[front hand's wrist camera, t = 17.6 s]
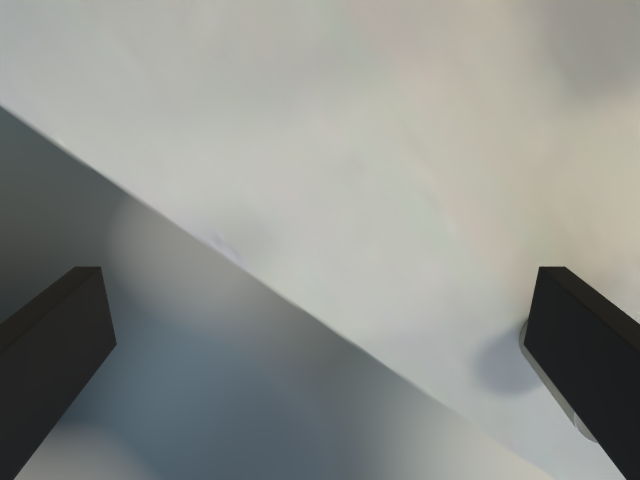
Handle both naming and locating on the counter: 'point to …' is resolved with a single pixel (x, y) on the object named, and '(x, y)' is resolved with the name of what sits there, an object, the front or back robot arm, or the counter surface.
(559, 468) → the counter surface
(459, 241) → the counter surface
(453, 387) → the counter surface
